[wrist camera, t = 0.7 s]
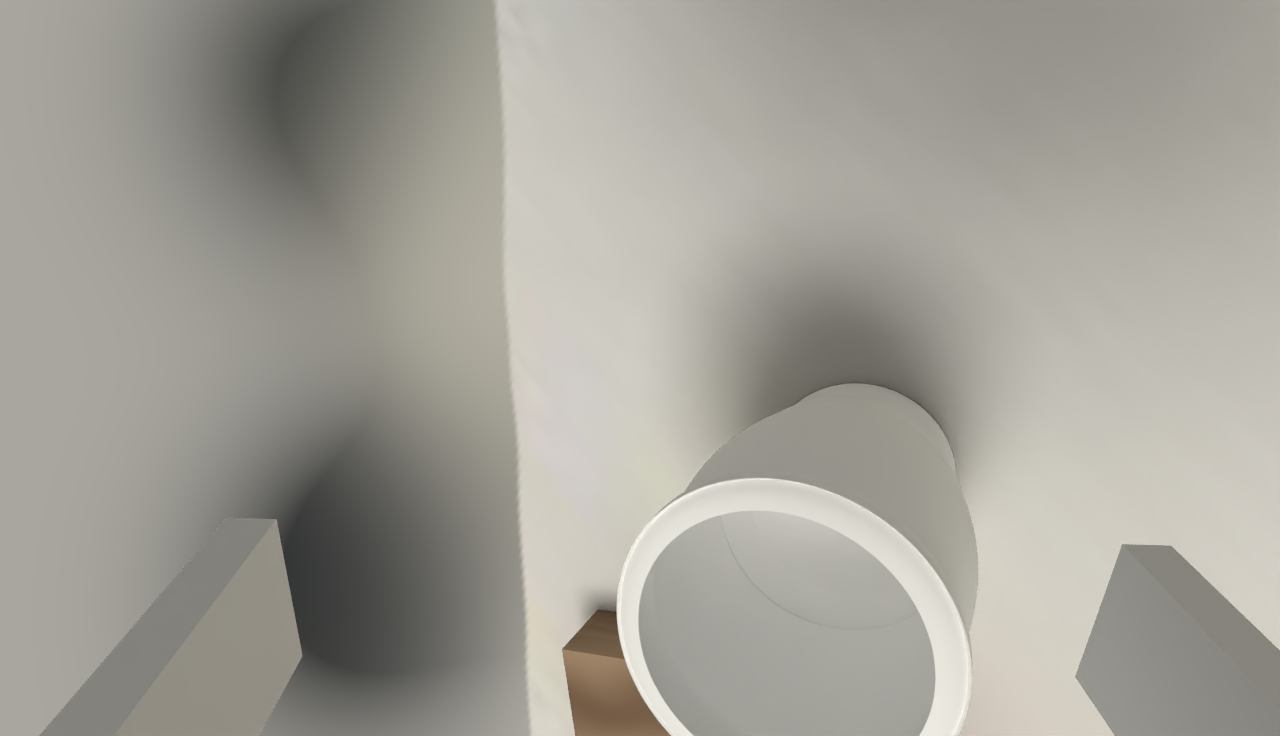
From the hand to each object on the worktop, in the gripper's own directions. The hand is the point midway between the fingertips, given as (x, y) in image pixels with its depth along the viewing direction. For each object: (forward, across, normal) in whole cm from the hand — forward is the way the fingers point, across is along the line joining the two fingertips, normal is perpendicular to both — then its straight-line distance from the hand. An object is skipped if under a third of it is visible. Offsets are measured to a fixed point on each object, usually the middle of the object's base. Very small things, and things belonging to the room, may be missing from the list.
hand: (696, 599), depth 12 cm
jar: (+21, +10, -10) cm, 25 cm away
